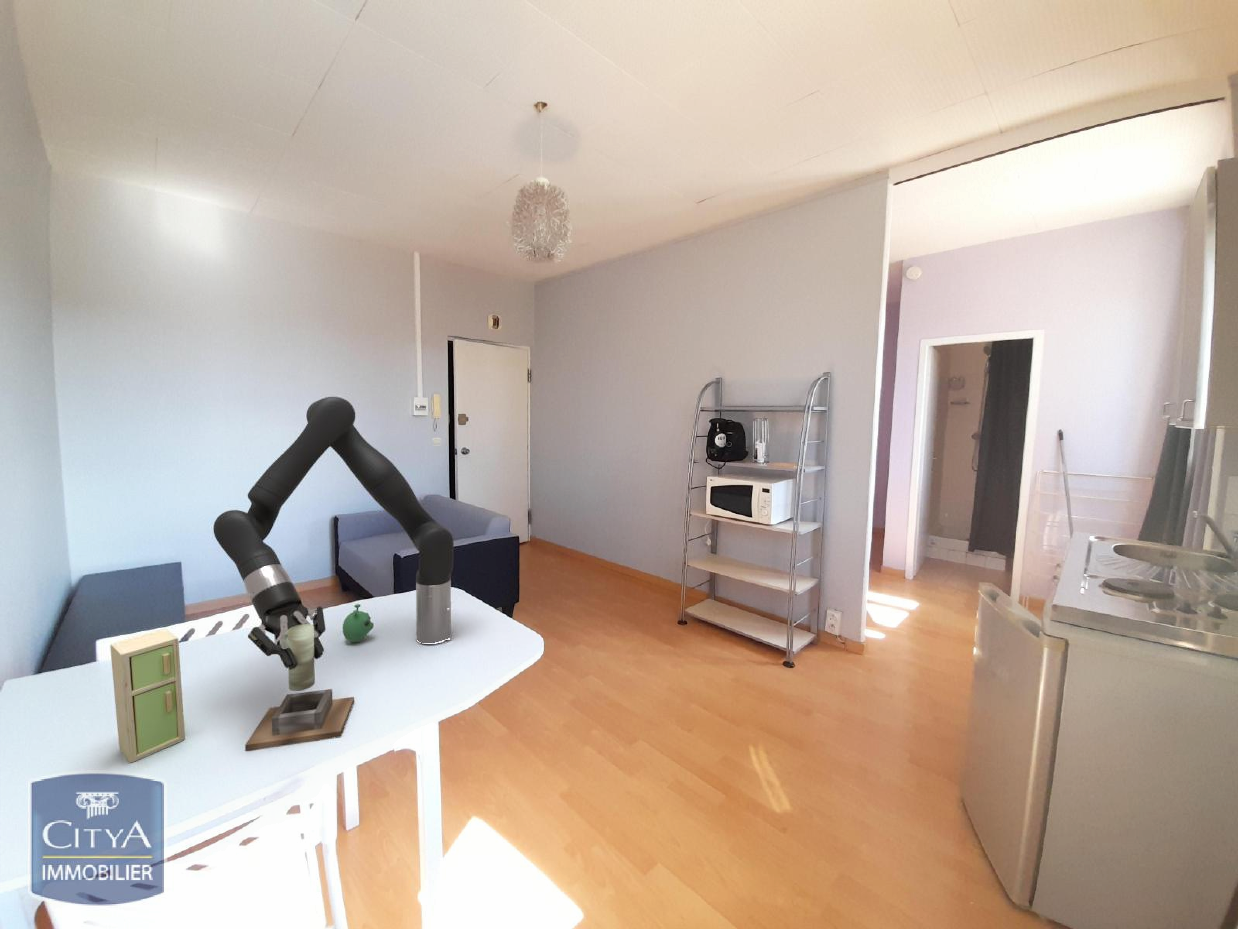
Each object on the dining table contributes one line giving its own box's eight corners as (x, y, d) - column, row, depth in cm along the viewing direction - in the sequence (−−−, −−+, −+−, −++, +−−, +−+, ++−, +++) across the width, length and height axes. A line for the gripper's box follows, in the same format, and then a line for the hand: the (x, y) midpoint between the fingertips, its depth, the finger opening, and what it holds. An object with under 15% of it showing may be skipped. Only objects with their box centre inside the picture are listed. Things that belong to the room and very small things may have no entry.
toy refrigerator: (129, 766, 86) (121, 655, 83) (117, 750, 89) (109, 643, 87) (187, 741, 92) (181, 638, 90) (173, 727, 96) (167, 627, 94)
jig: (354, 701, 107) (353, 682, 106) (340, 736, 95) (340, 714, 95) (269, 713, 102) (269, 692, 101) (245, 751, 90) (244, 727, 90)
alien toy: (372, 644, 133) (372, 610, 132) (341, 648, 130) (340, 613, 129) (374, 633, 139) (374, 600, 138) (344, 637, 136) (343, 603, 135)
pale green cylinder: (317, 678, 100) (316, 623, 99) (311, 689, 96) (310, 632, 95) (293, 680, 99) (291, 625, 98) (285, 692, 95) (284, 634, 94)
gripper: (239, 592, 93) (275, 669, 88) (314, 572, 105) (349, 638, 101) (225, 612, 96) (260, 687, 91) (300, 591, 108) (334, 656, 104)
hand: (307, 661), depth 96 cm, fingers closed on pale green cylinder, 4 cm apart
